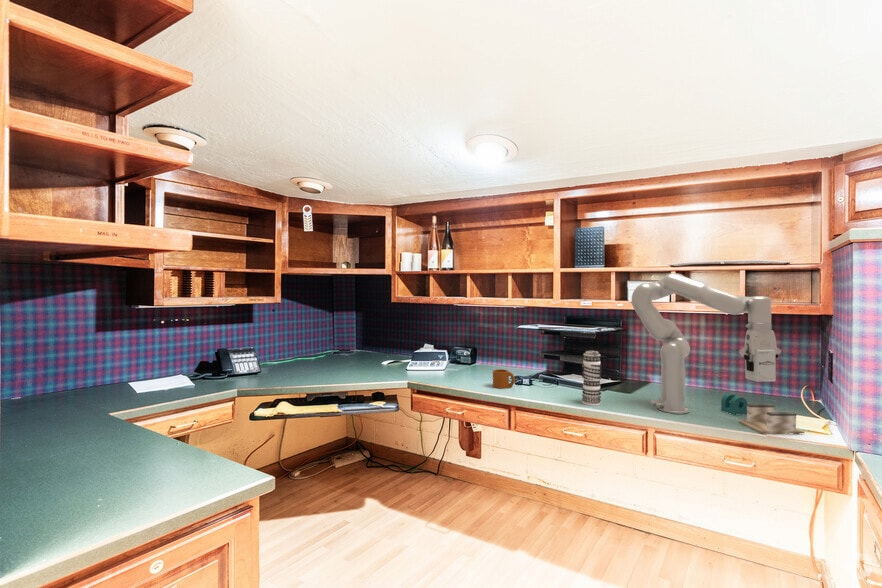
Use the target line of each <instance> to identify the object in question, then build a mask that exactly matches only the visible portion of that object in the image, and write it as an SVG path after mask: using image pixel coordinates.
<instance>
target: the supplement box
mask: <svg viewBox="0 0 882 588" xmlns="http://www.w3.org/2000/svg"><path fill="white" fill-rule="evenodd" d="M748 352H749V353H750V351H749V349H748ZM745 354H746V353H745ZM746 355H747V354H746ZM750 356H751V355H750ZM776 360H777V359H775V350H756V356H754V355H753V360H752V362H754V371H753V372H751V371H747V368H746V361H745V360H744V361H745V363H744V369H745V370H744V372H745V379H748V380H750V381H753V382H763V383H764V382H772V383H773V382H776V381H777V380H776V377H777V375H776V373H777V372H776V370H777V369H776V366H777V365H776V363H777V362H776Z"/></svg>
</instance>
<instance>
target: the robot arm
mask: <svg viewBox="0 0 882 588" xmlns="http://www.w3.org/2000/svg"><path fill="white" fill-rule="evenodd" d="M671 295H677V296H680V297H683V298H686V299H688V300H690V301H691V300H692V301H694V302H696V303H698V304H700V305H705V306H707V307H709V308H711V309H715V310H718V311H720V312H723V313H725V314H728V315H733V316H735V315H741V314H747V320H748V322H747V324H745V328H747V330H746V333H745V339H744V346H743V347H742V348H740V349H739V350H738V353H739V354H740V356H741V358H743V359H744V361H746V368H747V371H751V372H753V371H754V362H752V360H753V355H754V356H756V350H775V359H776V360H777V359H778V358H779V356H780V354H781V353H782V350H781V349H780V348H779V347H778V346H777V339H776V334H775V331H774V330H772V298H771V297H770V296H765V295H764V296H762V295H761V296H760V295H759V296H756V295H755V296H745V295H744V296H743V295H732V294H729V293H726V292H723V291H721V290H718V289H715V288H713V287H711V286H710V285H709V284H707V283H705V282H701V281H700V280H696V279H693V278H689V277H686V276H685V275H684V274H681V273H675V272H672V273H668V274H666V275H665V276H664V277H663V278H660V279H659V280H656V281H653V282H643V283H640V284H639V285H637V286H636V287H635V288H634V290H633V292H632V295H631V304H632V307H633V309H634V311H635V312H636V315H637V316H638V317H639V319H640V321H641V322H642V324H643V325H644V327H645V329H646V330H647V331H648V333H649V334H650V337H652V339H653V340H656V341H661V342H662V346H661V348H660V353H659V356H660V365H661V368H660V369H661V373H660V374H661V375H660V376H661V377H660V379H661V381H660V398H658V399H657V400H649V404H650V405H651V406H656V409H658V411H661V412H664V413H669V414H677V415H678V414H679V415H680V414H681V415H683V414H688V413H689V411H690V410H689V408H688V407H686V406H685V405H686V403H685V401H686V399H685V398H686V364H685V358H687V357H688V356H689V355H690V352H691V347H690V344H689V342H688V341H687V339H686V338H685V336H684V334H683V333H682V332H681V330H680V329H679V327H678V326H677V325H676V323H674V322H673V321H672V320H670V319H667V318H664V317H663V316H662V314H661V313H660V311H659V309H658V308H657V307H656V306H655V304H653V302H652V301H657V300H659V299H660V300H661V299H663V298H665V297H669V296H671ZM748 349H749V351H750V353H749V352H748ZM745 353H746V354H747V355H746V354H745ZM750 355H751V356H750Z"/></svg>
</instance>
